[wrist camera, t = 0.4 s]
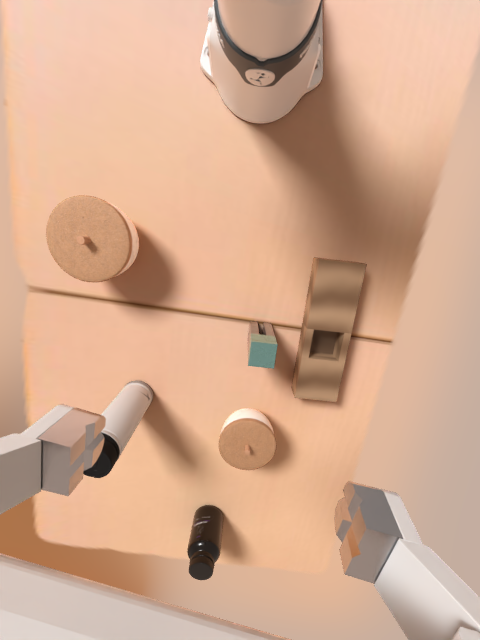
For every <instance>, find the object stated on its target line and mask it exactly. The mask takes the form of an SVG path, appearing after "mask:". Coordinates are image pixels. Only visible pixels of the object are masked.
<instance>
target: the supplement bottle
mask: <svg viewBox="0 0 480 640" xmlns="http://www.w3.org/2000/svg"><path fill="white" fill-rule="evenodd" d="M222 528H223V514H222V512H221V511H220V510H219V509H218V508H216V507H214V506H211V505H206V506H202V507H200V508H199V509H198V510H197V511H196V512H195V515H194V520H193V525H192V530H191V534H190V539H189V544H188V556H189V559H190V565H189V573H190V575H191V576H192V577H193V578H195V579H198V580H206V579H209V578H210V577H211V576H212V574H213V569H214V563H215V562H216V561H217V560H218V558H219V556H220V549H221V539H222Z"/></svg>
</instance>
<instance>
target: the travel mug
mask: <svg viewBox="0 0 480 640" xmlns="http://www.w3.org/2000/svg"><path fill="white" fill-rule="evenodd" d="M152 400H153V392H152V389H151V388H150V386H149V385H147V384H146V383H144V382H142V381H131V382H129V383H128V384H126V385H125V387H124V388H123V389H122V390H121V391H120V393H119V394H118V395H117V396H116V397H115V399H114V400H113V401H112V402H111V403H110V405H109V406H108V407H107V408H106V409H105V411H104V412H103V413H102V414H101V415H103V416H104V417H105V418H106V424H105V427H104V429H103V430H102V431H101V432H102V434H103V436H104V445H103V448H102V451H101V453H100V455H99V457H98V459H97V461H96V462H95V463H94V465H93V466H92V467H91V468H89V469H87V470H84V471H83V474H84V475H87V476H91V477H94V478H101V477H104V476H106V475H107V474H109V472H110V471H111V469H112V468H113V466H114V464H115V462H116V461H117V460H118V458H119V456H120V455H121V453H122V451H123V450H124V448H125V446H126V444H127V443H128V441H129V439H130V438H131V436H132V434H133V433H134V431H135V429H136V427H137V426H138V424H139V422H140V421H141V419H142V417H143V415H144V414H145V412H146V410H147V409H148V407H149V405H150V404H151V402H152Z"/></svg>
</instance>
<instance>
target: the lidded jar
mask: <svg viewBox="0 0 480 640" xmlns="http://www.w3.org/2000/svg"><path fill="white" fill-rule="evenodd" d="M219 451H220V454H221V456H222V457H223V459H224V460H225V461H226V462H227V463H228V464H230V465H231V466H233V467H235V468H238V469H242V470H253V469H258V468H260V467H262V466H264V465H266V464H267V463H268V462H269V461H270V460H271V459H272V458H273V456H274V454H275V451H276V439H275V436H274V432H273V428H272V426H271V424H270V422H269V420H268V419H267V417H266V416H265V415H264V414H262V413H261V412H260V411H258V410H255V409H251V408H243V409H239V410H237V411H235V412H233V413H232V414H231V415H230V416H229V417H228V418H227V419H226V421H225V423H224V425H223V427H222V430H221V435H220V439H219Z"/></svg>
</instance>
